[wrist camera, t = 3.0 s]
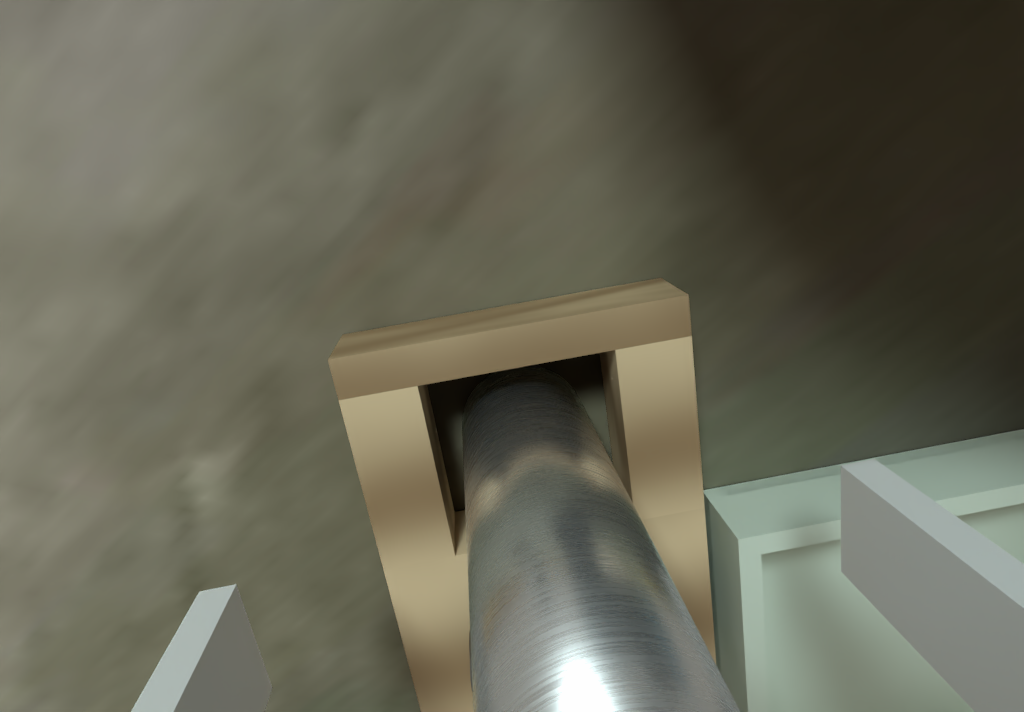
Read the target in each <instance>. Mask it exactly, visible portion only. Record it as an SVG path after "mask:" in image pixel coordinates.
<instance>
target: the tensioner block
mask: <svg viewBox="0 0 1024 712" xmlns="http://www.w3.org/2000/svg"><path fill="white" fill-rule="evenodd" d="M596 353H599V354H600V362H601V370H602V378H603V386H604V394H605V402H606V410H607V419H608V427H609V435H610V443H611V451H612V459H613V466H614V468H615V470H616V472H617V474H618V475H619V477H620V479H621V481H622V483H623V485H624V487H625V489H626V491H627V493H628V495H629V497H630V499H631V501H632V503H633V505H634V506H635V508H636V510H637V512H638V514H639V516H640V518H641V520H642V522H643V524H644V526H645V528H646V530H647V532H648V534H649V536H650V538H651V539H652V541H653V543H654V545H655V547H656V549H657V551H658V553H659V555H660V557H661V559H662V561H663V563H664V565H665V567H666V569H667V570H668V572H669V574H670V576H671V578H672V580H673V582H674V584H675V586H676V588H677V590H678V592H679V594H680V596H681V598H682V600H683V601H684V603H685V605H686V607H687V609H688V611H689V613H690V615H691V617H692V619H693V621H694V623H695V625H696V627H697V629H698V631H699V633H700V634H701V636H702V638H703V640H704V642H705V644H706V646H707V648H708V650H709V652H710V654H711V656H712V658H713V660H714V662H715V664H716V653H715V639H714V626H713V613H712V599H711V586H710V573H709V559H708V546H707V533H706V519H705V506H704V492H703V479H702V466H701V452H700V439H699V426H698V412H697V399H696V386H695V372H694V359H693V346H692V332H691V319H690V305H689V295H688V294H687V293H685V292H683V291H682V290H680V289H678V288H677V287H675V286H673V285H672V284H670V283H668V282H667V281H665V280H663V279H662V278H657V279H651V280H646V281H640V282H634V283H629V284H623V285H618V286H612V287H606V288H601V289H595V290H590V291H584V292H578V293H573V294H567V295H562V296H556V297H550V298H545V299H539V300H534V301H528V302H522V303H517V304H511V305H506V306H500V307H494V308H489V309H483V310H478V311H472V312H466V313H461V314H455V315H450V316H444V317H438V318H433V319H427V320H422V321H416V322H410V323H405V324H399V325H394V326H388V327H382V328H377V329H371V330H366V331H360V332H354V333H349V334H343V335H342V336H341V338H340V340H339V342H338V343H337V345H336V347H335V348H334V350H333V352H332V353H331V355H330V357H329V359H328V362H329V366H330V370H331V374H332V377H333V381H334V385H335V389H336V392H337V396H338V400H339V404H340V407H341V411H342V415H343V419H344V423H345V426H346V430H347V434H348V438H349V441H350V445H351V449H352V453H353V456H354V460H355V464H356V468H357V472H358V475H359V479H360V483H361V487H362V490H363V494H364V498H365V502H366V505H367V509H368V513H369V517H370V521H371V524H372V528H373V532H374V536H375V539H376V543H377V547H378V551H379V554H380V558H381V562H382V566H383V570H384V573H385V577H386V581H387V585H388V588H389V592H390V596H391V600H392V603H393V607H394V611H395V615H396V619H397V622H398V626H399V630H400V634H401V637H402V641H403V645H404V649H405V652H406V656H407V660H408V664H409V668H410V671H411V675H412V679H413V683H414V686H415V690H416V694H417V698H418V701H419V705H420V709H421V712H473V690H472V665H471V640H470V615H469V590H468V565H467V540H466V515H465V510H463V511H458V512H455V511H454V506H453V502H452V497H451V493H450V488H449V483H448V479H447V474H446V469H445V465H444V460H443V456H442V451H441V446H440V442H439V437H438V432H437V428H436V423H435V419H434V414H433V409H432V405H431V400H430V396H429V391H428V386H427V384H431V383H437V382H442V381H448V380H453V379H459V378H464V377H470V376H475V375H481V374H486V373H492V372H497V371H503V370H508V369H514V368H519V367H525V366H530V365H536V364H541V363H547V362H552V361H558V360H563V359H568V358H574V357H579V356H585V355H590V354H596Z"/></svg>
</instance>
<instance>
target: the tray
mask: <svg viewBox="0 0 1024 712" xmlns="http://www.w3.org/2000/svg"><path fill="white" fill-rule="evenodd" d="M871 459H875V460H877V461H878V462H880V463H881V464H882V465H884V466H885V467H887V468H888V469H889V470H891V471H892V472H894V473H895V474H897V475H898V476H899V477H901V478H902V479H904V480H905V481H907V482H908V483H909V484H911V485H912V486H914V487H915V488H916V489H918V490H919V491H921V492H922V493H924V494H925V495H926V496H928V497H929V498H931V499H932V500H934V501H935V502H936V503H938V504H939V505H941V506H942V507H943V508H945V509H946V510H948V511H949V512H951V513H952V514H953V515H955V516H956V517H958V518H959V519H961V520H962V521H963V522H965V523H966V524H968V525H969V526H971V527H972V528H973V529H975V530H976V531H978V532H979V533H980V534H982V535H983V536H985V537H986V538H988V539H989V540H990V541H992V542H993V543H995V544H996V545H998V546H999V547H1000V548H1002V549H1003V550H1005V551H1006V552H1007V553H1009V554H1010V555H1012V556H1013V557H1015V558H1016V559H1017V560H1019V561H1020V562H1022V563H1023V564H1024V429H1021V430H1016V431H1011V432H1005V433H1000V434H995V435H990V436H984V437H979V438H974V439H969V440H964V441H958V442H953V443H948V444H943V445H938V446H932V447H927V448H922V449H917V450H911V451H906V452H901V453H896V454H891V455H885V456H880V457H875V458H870V459H864V460H859V461H854V462H849V463H844V464H838V465H833V466H828V467H823V468H817V469H812V470H807V471H802V472H797V473H791V474H786V475H781V476H776V477H770V478H765V479H760V480H755V481H750V482H744V483H739V484H734V485H729V486H723V487H718V488H713V489H708V490H703V492H704V506H705V519H706V533H707V546H708V559H709V573H710V586H711V599H712V613H713V626H714V639H715V653H716V665H717V667H718V669H719V671H720V673H721V675H722V677H723V679H724V681H725V683H726V685H727V687H728V689H729V691H730V693H731V695H732V696H733V698H734V700H735V702H736V704H737V706H738V708H739V710H740V712H975V711H974V710H973V709H972V708H971V707H970V706H969V705H968V704H967V703H966V702H965V701H964V700H963V699H962V698H961V697H960V696H959V695H958V694H957V693H956V692H955V690H954V689H953V688H952V687H951V686H950V685H949V684H948V683H947V682H946V681H945V680H944V679H943V678H942V677H941V676H940V675H939V674H938V673H937V672H936V671H935V670H934V668H933V667H932V666H931V665H930V664H929V663H928V662H927V661H926V660H925V659H924V658H923V657H922V656H921V655H920V654H919V653H918V652H917V651H916V650H915V649H914V647H913V646H912V645H911V644H910V643H909V642H908V641H907V640H906V639H905V638H904V637H903V636H902V635H901V634H900V633H899V632H898V631H897V630H896V629H895V628H894V627H893V625H892V624H891V623H890V622H889V621H888V620H887V619H886V618H885V617H884V616H883V615H882V614H881V613H880V612H879V611H878V610H877V609H876V608H875V607H874V606H873V605H872V603H871V602H870V601H869V600H868V599H867V598H866V597H865V596H864V595H863V594H862V593H861V592H860V591H859V590H858V589H857V588H856V587H855V586H854V585H853V584H852V583H851V581H850V580H849V579H848V578H847V577H846V576H845V575H844V574H843V573H842V572H841V465H846V464H851V463H856V462H861V461H866V460H871Z"/></svg>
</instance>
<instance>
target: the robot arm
mask: <svg viewBox="0 0 1024 712" xmlns="http://www.w3.org/2000/svg"><path fill="white" fill-rule="evenodd" d="M841 572H842V573H843V574H844V575H845V576H846V577H847V578H848V579H849V580H850V581H851V583H852V584H853V585H854V586H855V587H856V588H857V589H858V590H859V591H860V592H861V593H862V594H863V595H864V596H865V597H866V598H867V599H868V600H869V601H870V602H871V603H872V605H873V606H874V607H875V608H876V609H877V610H878V611H879V612H880V613H881V614H882V615H883V616H884V617H885V618H886V619H887V620H888V621H889V622H890V623H891V624H892V625H893V627H894V628H895V629H896V630H897V631H898V632H899V633H900V634H901V635H902V636H903V637H904V638H905V639H906V640H907V641H908V642H909V643H910V644H911V645H912V646H913V647H914V649H915V650H916V651H917V652H918V653H919V654H920V655H921V656H922V657H923V658H924V659H925V660H926V661H927V662H928V663H929V664H930V665H931V666H932V667H933V668H934V670H935V671H936V672H937V673H938V674H939V675H940V676H941V677H942V678H943V679H944V680H945V681H946V682H947V683H948V684H949V685H950V686H951V687H952V688H953V689H954V690H955V692H956V693H957V694H958V695H959V696H960V697H961V698H962V699H963V700H964V701H965V702H966V703H967V704H968V705H969V706H970V707H971V708H972V709H973V710H974V711H975V712H1024V564H1023V563H1022V562H1020V561H1019V560H1017V559H1016V558H1015V557H1013V556H1012V555H1010V554H1009V553H1007V552H1006V551H1005V550H1003V549H1002V548H1000V547H999V546H998V545H996V544H995V543H993V542H992V541H990V540H989V539H988V538H986V537H985V536H983V535H982V534H980V533H979V532H978V531H976V530H975V529H973V528H972V527H971V526H969V525H968V524H966V523H965V522H963V521H962V520H961V519H959V518H958V517H956V516H955V515H953V514H952V513H951V512H949V511H948V510H946V509H945V508H943V507H942V506H941V505H939V504H938V503H936V502H935V501H934V500H932V499H931V498H929V497H928V496H926V495H925V494H924V493H922V492H921V491H919V490H918V489H916V488H915V487H914V486H912V485H911V484H909V483H908V482H907V481H905V480H904V479H902V478H901V477H899V476H898V475H897V474H895V473H894V472H892V471H891V470H889V469H888V468H887V467H885V466H884V465H882V464H881V463H880V462H878V461H877V460H875V459H871V460H866V461H861V462H856V463H851V464H846V465H841ZM271 690H272V685H271V682H270V680H269V677H268V674H267V671H266V668H265V665H264V662H263V659H262V657H261V654H260V651H259V648H258V645H257V642H256V639H255V637H254V634H253V631H252V628H251V625H250V622H249V619H248V616H247V614H246V611H245V608H244V605H243V602H242V599H241V596H240V594H239V591H238V588H237V585H236V584H235V585H230V586H225V587H220V588H215V589H210V590H205V591H200V592H199V593H198V595H197V597H196V598H195V600H194V602H193V604H192V605H191V607H190V609H189V611H188V612H187V614H186V616H185V618H184V619H183V621H182V623H181V625H180V626H179V628H178V630H177V632H176V634H175V635H174V637H173V639H172V641H171V642H170V644H169V646H168V648H167V649H166V651H165V653H164V655H163V656H162V658H161V660H160V662H159V663H158V665H157V667H156V669H155V670H154V672H153V674H152V676H151V677H150V679H149V681H148V683H147V684H146V686H145V688H144V690H143V691H142V693H141V695H140V697H139V699H138V700H137V702H136V704H135V706H134V707H133V709H132V711H131V712H265V709H266V706H267V703H268V700H269V696H270V693H271Z"/></svg>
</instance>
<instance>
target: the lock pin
mask: <svg viewBox="0 0 1024 712" xmlns="http://www.w3.org/2000/svg"><path fill="white" fill-rule="evenodd" d="M462 440H463V465H464V490H465V515H466V540H467V565H468V590H469V615H470V640H471V665H472V690H473V712H740V710H739V708H738V706H737V704H736V702H735V700H734V698H733V696H732V695H731V693H730V691H729V689H728V687H727V685H726V683H725V681H724V679H723V677H722V675H721V673H720V671H719V669H718V667H717V665H716V664H715V662H714V660H713V658H712V656H711V654H710V652H709V650H708V648H707V646H706V644H705V642H704V640H703V638H702V636H701V634H700V633H699V631H698V629H697V627H696V625H695V623H694V621H693V619H692V617H691V615H690V613H689V611H688V609H687V607H686V605H685V603H684V601H683V600H682V598H681V596H680V594H679V592H678V590H677V588H676V586H675V584H674V582H673V580H672V578H671V576H670V574H669V572H668V570H667V569H666V567H665V565H664V563H663V561H662V559H661V557H660V555H659V553H658V551H657V549H656V547H655V545H654V543H653V541H652V539H651V538H650V536H649V534H648V532H647V530H646V528H645V526H644V524H643V522H642V520H641V518H640V516H639V514H638V512H637V510H636V508H635V506H634V505H633V503H632V501H631V499H630V497H629V495H628V493H627V491H626V489H625V487H624V485H623V483H622V481H621V479H620V477H619V475H618V474H617V472H616V470H615V468H614V466H613V464H612V462H611V460H610V458H609V456H608V454H607V452H606V450H605V448H604V446H603V444H602V443H601V441H600V439H599V437H598V435H597V433H596V431H595V429H594V427H593V425H592V423H591V421H590V419H589V417H588V415H587V413H586V411H585V410H584V408H583V406H582V404H581V402H580V400H579V398H578V396H577V394H576V392H575V391H574V389H573V388H572V387H571V385H570V384H569V383H568V382H567V381H566V380H565V379H564V378H562V377H561V376H560V375H558V374H556V373H555V372H553V371H551V370H548V369H546V368H542V367H539V366H532V365H530V366H525V367H519V368H514V369H508V370H503V371H497V372H495V373H493V374H491V375H489V376H488V377H487V378H485V379H484V380H483V381H482V382H480V383H479V384H478V385H477V387H476V388H475V389H474V390H473V391H472V393H471V395H470V396H469V398H468V400H467V402H466V404H465V407H464V411H463V416H462Z"/></svg>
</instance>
